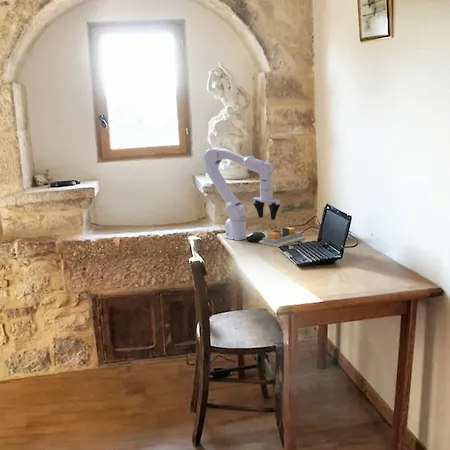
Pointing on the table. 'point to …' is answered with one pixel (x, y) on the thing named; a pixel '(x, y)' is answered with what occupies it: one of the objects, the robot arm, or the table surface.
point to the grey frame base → (284, 238)
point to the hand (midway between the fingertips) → (267, 218)
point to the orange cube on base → (274, 235)
